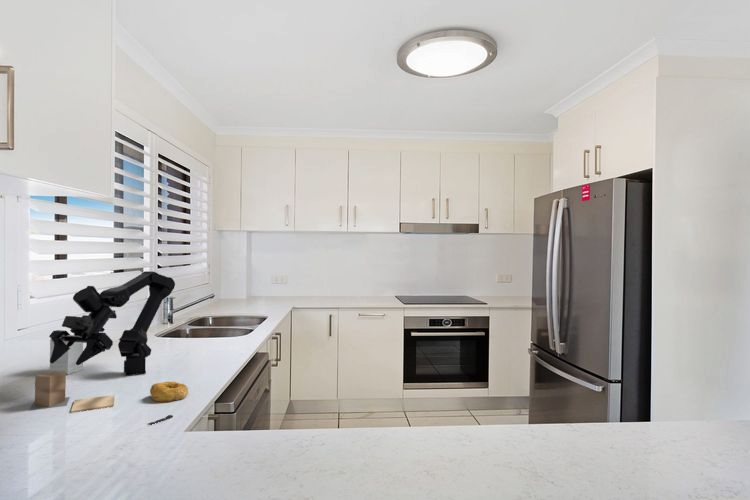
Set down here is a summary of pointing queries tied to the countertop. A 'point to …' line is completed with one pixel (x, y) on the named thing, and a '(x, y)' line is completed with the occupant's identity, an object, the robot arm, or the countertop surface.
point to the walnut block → (50, 388)
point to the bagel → (168, 391)
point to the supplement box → (67, 359)
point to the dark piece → (161, 420)
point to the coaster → (93, 403)
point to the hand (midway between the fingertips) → (63, 363)
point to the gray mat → (49, 407)
